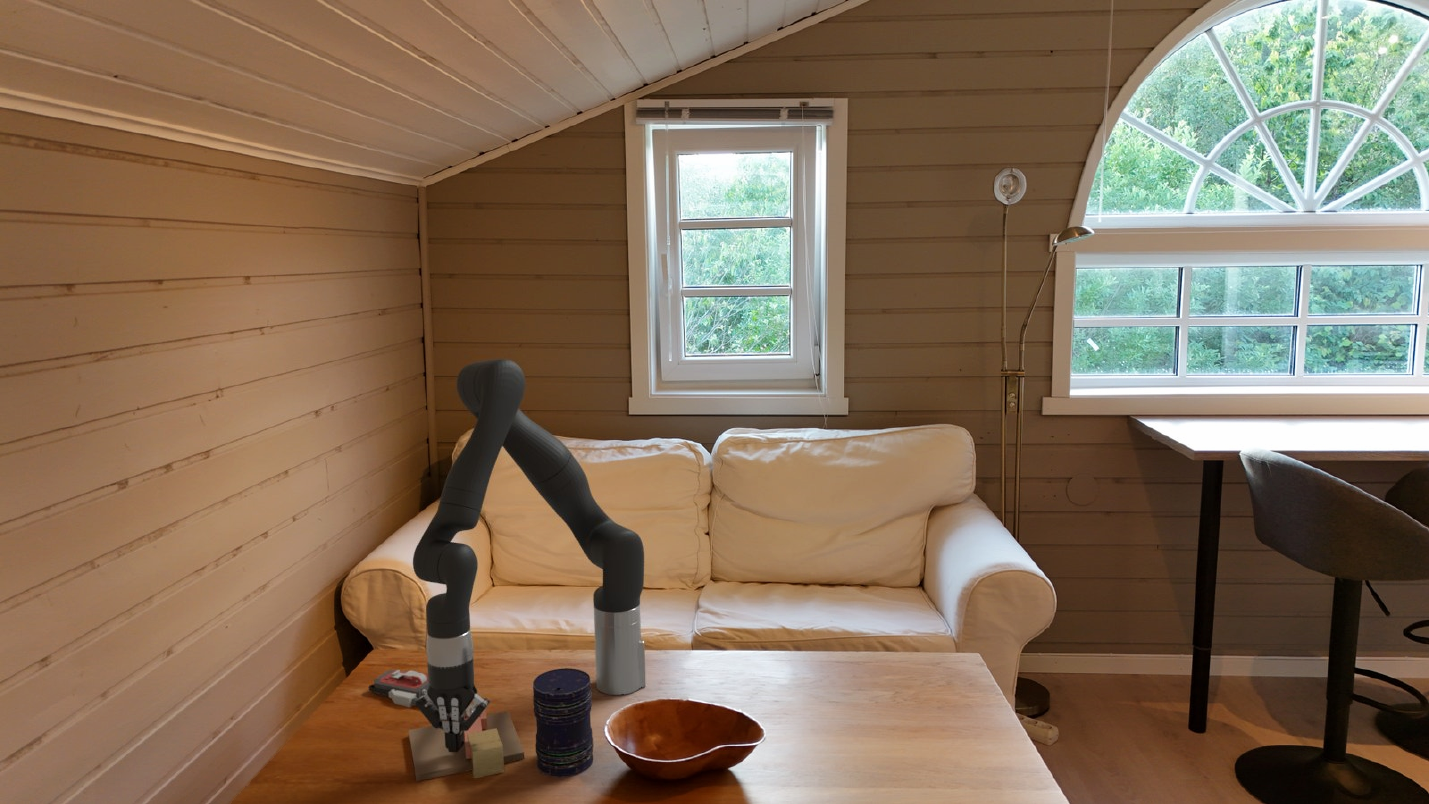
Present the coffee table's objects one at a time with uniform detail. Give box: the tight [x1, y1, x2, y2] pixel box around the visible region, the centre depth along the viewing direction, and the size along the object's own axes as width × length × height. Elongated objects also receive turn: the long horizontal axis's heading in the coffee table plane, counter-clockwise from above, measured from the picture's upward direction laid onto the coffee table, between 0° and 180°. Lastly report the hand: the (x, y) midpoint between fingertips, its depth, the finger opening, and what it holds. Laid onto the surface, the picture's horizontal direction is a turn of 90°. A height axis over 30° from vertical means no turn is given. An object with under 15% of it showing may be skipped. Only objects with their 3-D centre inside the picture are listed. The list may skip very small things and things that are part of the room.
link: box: [464, 709, 487, 759], centre depth 170 cm, size 14×5×2 cm, turn 16°
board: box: [408, 710, 525, 782], centre depth 169 cm, size 18×16×1 cm
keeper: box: [467, 728, 505, 779], centre depth 163 cm, size 5×6×5 cm
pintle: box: [466, 703, 475, 719], centre depth 174 cm, size 2×2×5 cm
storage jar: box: [532, 667, 594, 779], centre depth 163 cm, size 10×10×15 cm
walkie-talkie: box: [367, 669, 429, 708], centre depth 189 cm, size 9×4×20 cm
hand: (455, 750), depth 164 cm, fingers closed
